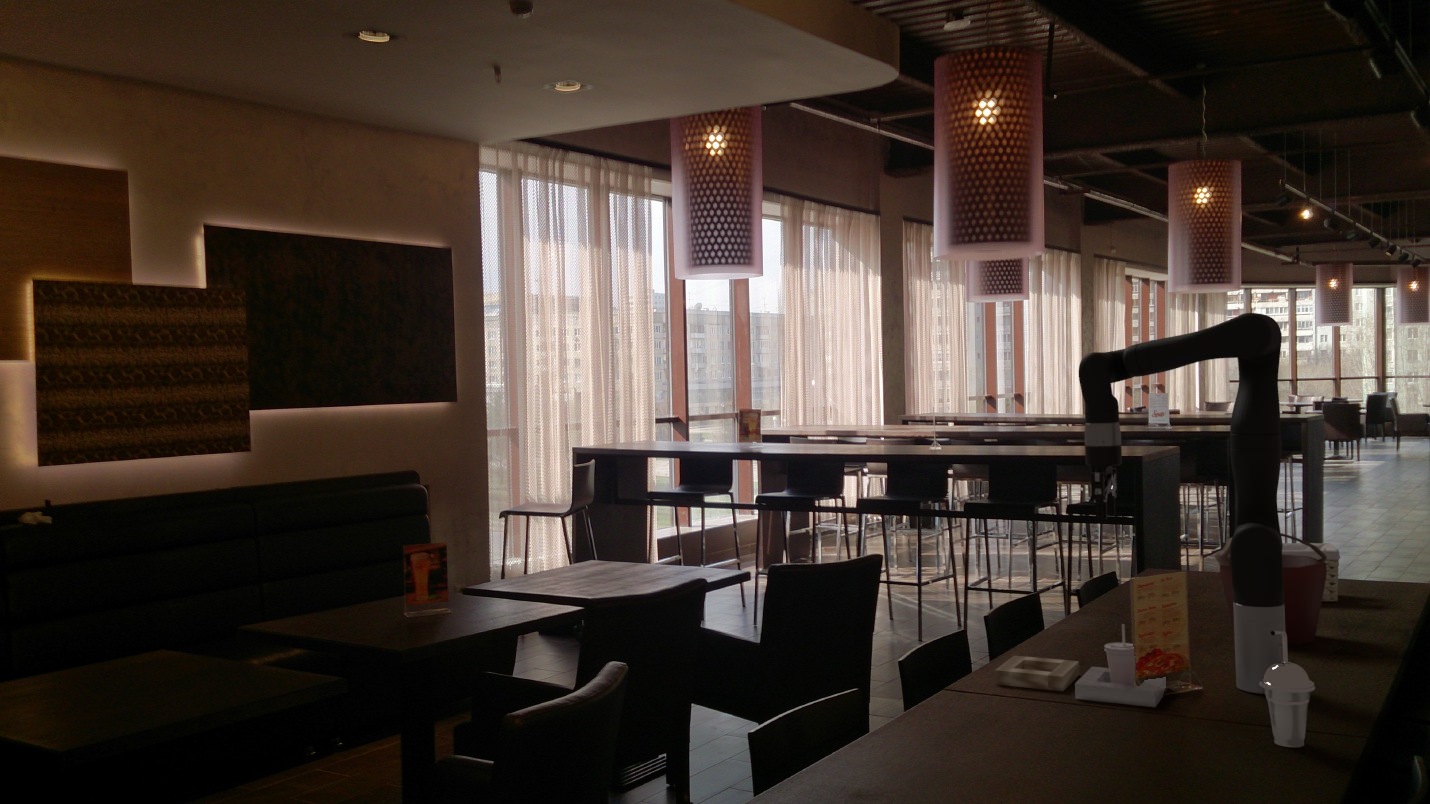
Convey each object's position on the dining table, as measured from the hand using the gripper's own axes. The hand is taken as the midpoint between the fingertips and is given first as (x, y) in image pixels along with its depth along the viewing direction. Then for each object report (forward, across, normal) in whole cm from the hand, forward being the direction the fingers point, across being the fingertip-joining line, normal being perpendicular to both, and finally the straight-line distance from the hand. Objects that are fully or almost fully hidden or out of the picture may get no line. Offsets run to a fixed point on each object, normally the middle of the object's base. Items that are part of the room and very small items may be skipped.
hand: (1105, 517), depth 241 cm
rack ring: (+33, -19, -6) cm, 39 cm away
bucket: (+33, +45, -28) cm, 63 cm away
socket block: (+33, -15, +12) cm, 38 cm away
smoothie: (+33, -19, -6) cm, 39 cm away
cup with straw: (+33, -40, -37) cm, 64 cm away
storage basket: (+34, +100, -28) cm, 109 cm away
